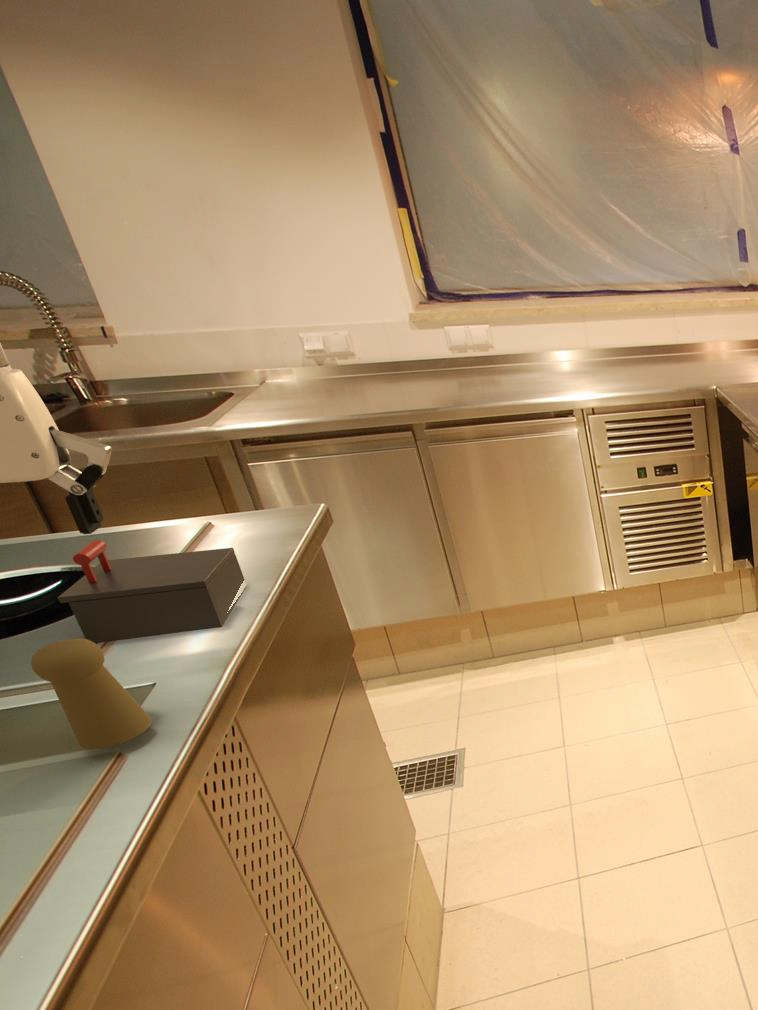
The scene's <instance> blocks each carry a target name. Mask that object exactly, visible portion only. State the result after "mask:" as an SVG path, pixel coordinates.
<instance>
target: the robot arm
mask: <svg viewBox="0 0 758 1010" xmlns="http://www.w3.org/2000/svg"><path fill="white" fill-rule="evenodd" d="M69 450H70V451H72V452H75V453H76V452H77V453H80V454H82V455H85V456H86V457H87V464H86V467H85V468H83V469H84V470H83V471H80V469H77V468H76V467H74V466H72V465H71V464H72V458H71V454H70V451H69ZM112 453H113V449H112V447H111V446H110V445H108V444H106V443H102V442H99V441H96V440H93V439H89V438H86V437H82V436H78V435H76V434H72V433H69V432H66V431H62V430H59V427H58V426H57V423H56V422H55V420H54V418H53V416H52V414H51V412H50V410H49V409H48V407H47V405H46V404H45V402H44V401H43V399H42V397H41V396H40V394H39V393H38V392H37V389H35V386H33V384H32V383H31V381H30V380H29V379H28V377H27V376H26V375H25V373H24V372H23V371H22V369H20V368H12V366H11V364H10V361H9V359H8V357H7V354H6V352H5V350H4V348H3V345H2V343H1V342H0V484H7V483H22V482H35V481H41V480H49V481H50V482H52V483H54V484H56V485H57V486H58V487H60V488H62V489H64V490H65V491H67V492H68V495H67V496H65V502H66V504H67V507H68V508H69V511H70V513H71V515H72V518H73V520H74V522H75V525H76V528H77V530H78V531H79V533H80V534H83V535H91V534H93V533H94V532H96V531H97V530H99V529H100V528H101V527H102V523H103V522H104V514H103V512H102V510H101V507H100V505H99V503H98V500H97V498H96V496H95V493H94V491H93V489H94V488H95V487H96V486H97V484H98V483H99V482H100V481H101V479H103V477H104V476H105V475H106V473H108V465H109V464H110V461H111V456H112Z"/></svg>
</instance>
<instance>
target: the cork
mask: <svg viewBox="0 0 758 1010" xmlns="http://www.w3.org/2000/svg"><path fill="white" fill-rule="evenodd" d="M104 663H105V655H104V652H103V650H102V648H101V647H100V646H99V645H98V643H94V642H92V641H90V640H87V639H85V638H81V637H79V638H78V637H76V638H74V637H73V638H67V639H62V640H59V641H55V642H52V643H49V644H47V645H45V646H43V647H41V648H40V649H38V650H37V651H35V652H34V654H32V656H31V660H30V665H31V668H32V670H33V672H34V673H35V674H36V675H37V676H38V677H39V678H41V679H42V680H44V681H45V682H49V683H51V686H52V688H53V690H54V692H55V694H56V697H57V699H58V701H59V703H60V705H61V708H62V710H63V713H64V714H65V717H66V719H67V721H68V724H69V725H70V728H71V730H72V732H73V734H74V737H75V739H76V741H77V743H78V745H79V747H81V748H83V749H86V750H98V749H105V748H109V747H114V746H116V745H119V744H122V743H125V742H128V741H129V740H132V739H134V738H135V737H137V736H140V735H141V734H142V733H144V732H145V731H146V730H147V729H148V728H149V727H150V726H151V724H152V723H153V720H152V717H151V716H150V715H149V714H148V713H147V712H146V711H145V709H144V708H143V707H141V705H140V704H139V703H138V702H137V701H136V700H135V698H134V697H133V696H132V695H131V694H130V693H129V692H128V691H127V690H126V689H125V688H124V687H123V686H122V684H121V683H120V682H119V680H118V679H116V677H115V676H114V675H113V674H112V673H111V672H110V671H109V670H108V668H106V666H104Z"/></svg>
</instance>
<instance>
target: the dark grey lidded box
mask: <svg viewBox="0 0 758 1010" xmlns="http://www.w3.org/2000/svg"><path fill="white" fill-rule="evenodd" d="M244 580H245V581H246V579H245V577H244V574H243V571H242V568H241V565H240V563H239V560H238V558H237V555H236V552H235V553H234V554H233V555H232V556H231V558H230V559H229V560H228V561H227V562H226V564H225V565H224V566H223V567H222V568H221V570H220V571H219V572H218V573H217V574H216V576H215V577H214V578H213V579H212V580H211V581H210V583H209V584H208V585H207V586H206V587H199V588H190V589H181V590H172V591H163V592H155V593H146V594H137V595H128V596H120V597H111V598H102V599H93V600H84V601H76V602H68V605H69V607H70V609H71V611H72V613H73V615H74V617H75V619H76V622H77V624H78V626H79V628H80V630H81V632H82V634H83V636H84V639H87V640H90V641H92V642H94V643H96V644H102V643H109V642H116V641H124V640H132V639H141V638H147V637H156V636H163V635H171V634H178V633H187V632H194V631H202V630H209V629H217V628H222V627H223V626H224V624H225V623H226V621H227V619H228V618H229V616H230V614H231V613H232V611H233V609H234V608H235V606H236V605H237V603H238V601H239V599H240V598H241V596H242V595H243V593H244V591H245V589H246V588H245V589H244V591H243V592H242V593H241V595H240V596H239V597H238V599H237V600H236V602H235V603H234V604H233V606H232V607H231V609H230V610H229V607H230V606H231V604H232V602H233V600H234V598H235V596H236V594H237V592H238V590H239V588H240V586H241V584H242V583H243V581H244ZM228 610H229V611H228ZM227 612H228V613H227Z"/></svg>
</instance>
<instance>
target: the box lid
mask: <svg viewBox="0 0 758 1010" xmlns="http://www.w3.org/2000/svg"><path fill="white" fill-rule="evenodd" d="M107 549H108V545H107V543H106V542H104V541H103V540H100V539H95V540H93V541H91V542H90V543H89V544H87V545H86V546H85V547H83V548H82V549H81V550H79V551H78V552H77V553H75V554H74V555H73V557H72V560H73V562H74V563H75V564H77V565H79V566H81V568H82V571H83V573H84V575H83V576H82V577H81V578H79V579H78V580H77V581H76V582H74V583H73V585H71V586H70V587H69V588H67V589H66V590H65V591H64V592H62V593H61V594H60V595H59V596H57V601H58V602H59V603H60V604H65V603H69V602H76V601H84V600H93V599H102V598H111V597H120V596H128V595H137V594H146V593H155V592H163V591H172V590H181V589H190V588H199V587H206V586H207V585H208V584H209V583H210V581H211V580H212V579H213V578H214V577H215V576H216V574H217V573H218V572H219V571H220V570H221V568H222V567H223V566H224V565H225V564H226V562H227V561H228V560H229V559H230V558H231V556H232V555H233V554H234V553H235V554H236V551H235V549H234V547H226V548H216V549H206V550H205V549H204V550H196V551H195V550H194V551H185V552H176V553H175V552H174V553H166V554H156V555H147V556H146V555H145V556H137V557H136V556H135V557H126V558H125V557H124V558H115V559H109V558H108V556H107V554H106V551H107ZM96 558H98V561H99V563H98V564H97V565H96V566H94V567H92V564H91V562H93V561H94V560H96Z"/></svg>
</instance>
